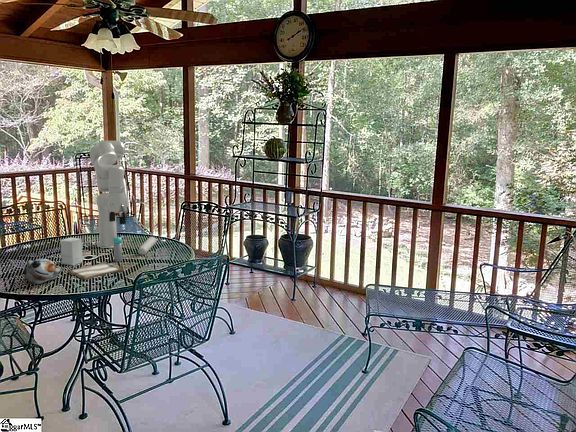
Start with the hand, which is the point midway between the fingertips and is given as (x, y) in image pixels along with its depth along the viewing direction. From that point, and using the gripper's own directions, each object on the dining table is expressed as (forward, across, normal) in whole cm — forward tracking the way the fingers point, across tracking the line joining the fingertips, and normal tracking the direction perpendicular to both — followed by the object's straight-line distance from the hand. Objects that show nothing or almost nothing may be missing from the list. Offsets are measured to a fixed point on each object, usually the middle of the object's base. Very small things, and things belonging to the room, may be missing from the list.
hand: (117, 222), depth 255 cm
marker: (+21, 0, 0) cm, 21 cm away
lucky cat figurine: (+21, +5, -42) cm, 47 cm away
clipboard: (+21, +10, -18) cm, 29 cm away
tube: (+21, -9, +24) cm, 33 cm away
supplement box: (+21, -12, -19) cm, 31 cm away
